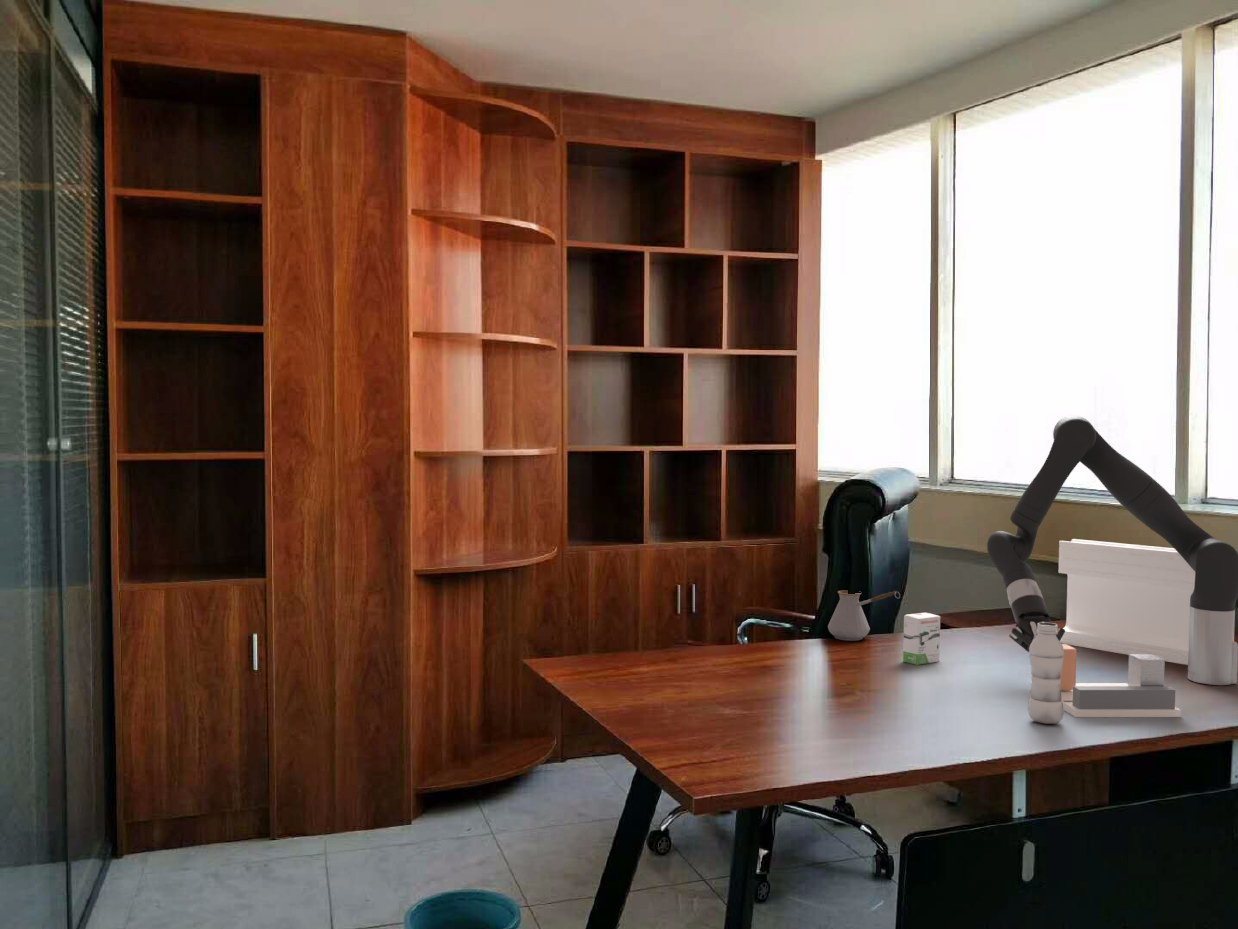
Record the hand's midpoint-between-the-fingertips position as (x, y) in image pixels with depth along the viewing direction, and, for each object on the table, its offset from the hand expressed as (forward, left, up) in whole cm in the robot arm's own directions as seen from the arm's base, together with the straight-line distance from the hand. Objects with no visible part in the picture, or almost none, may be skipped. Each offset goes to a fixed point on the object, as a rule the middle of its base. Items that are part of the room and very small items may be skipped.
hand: (1048, 666), depth 240 cm
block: (-39, -40, -6) cm, 56 cm away
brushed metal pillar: (-14, +16, -3) cm, 21 cm away
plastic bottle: (+12, +26, -6) cm, 29 cm away
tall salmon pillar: (0, +6, -3) cm, 7 cm away
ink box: (+20, -28, -6) cm, 35 cm away
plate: (-7, +11, -5) cm, 14 cm away
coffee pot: (+28, -53, -6) cm, 60 cm away
